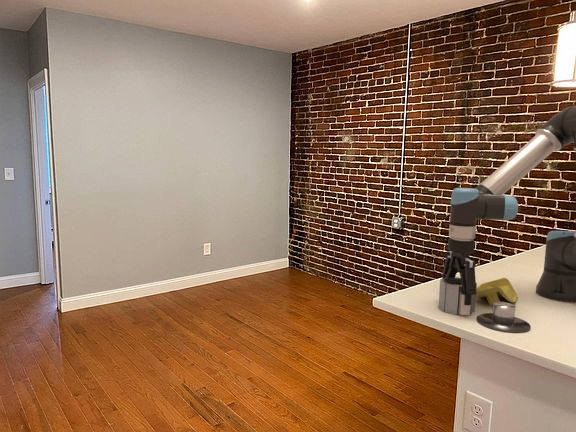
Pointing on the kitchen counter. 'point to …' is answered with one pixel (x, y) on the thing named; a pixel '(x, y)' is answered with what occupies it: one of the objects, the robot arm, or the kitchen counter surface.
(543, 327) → the kitchen counter surface
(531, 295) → the kitchen counter surface
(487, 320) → the duct stub
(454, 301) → the collar
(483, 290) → the plastic component
